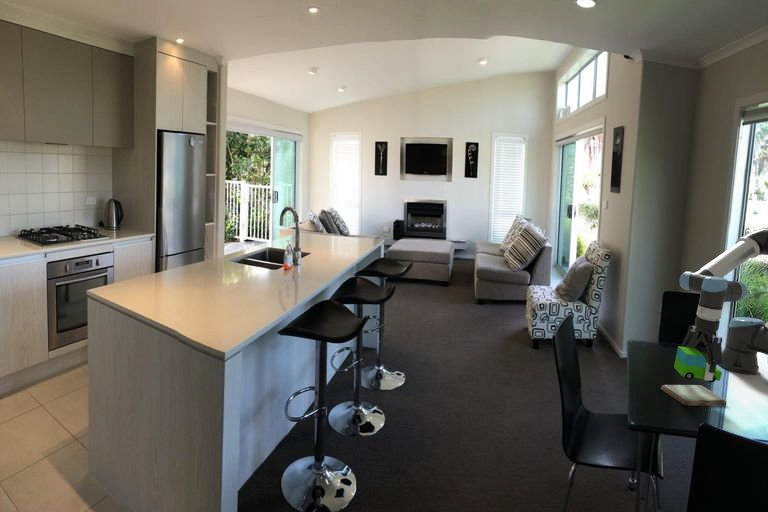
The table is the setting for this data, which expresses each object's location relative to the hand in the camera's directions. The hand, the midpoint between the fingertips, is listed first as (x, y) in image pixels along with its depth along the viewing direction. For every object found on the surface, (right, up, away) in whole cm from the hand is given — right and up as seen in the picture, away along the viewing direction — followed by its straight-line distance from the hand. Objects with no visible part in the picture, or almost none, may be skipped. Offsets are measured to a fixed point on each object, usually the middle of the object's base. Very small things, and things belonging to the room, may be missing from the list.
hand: (696, 373), depth 186 cm
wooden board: (0, -10, +2) cm, 10 cm away
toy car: (0, -2, 0) cm, 2 cm away
